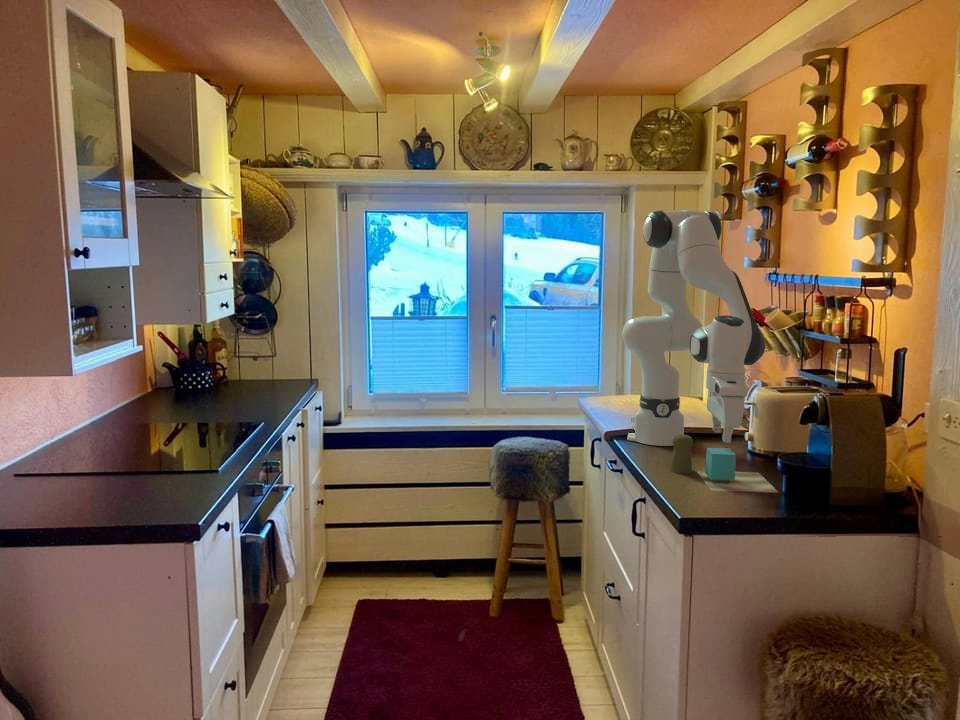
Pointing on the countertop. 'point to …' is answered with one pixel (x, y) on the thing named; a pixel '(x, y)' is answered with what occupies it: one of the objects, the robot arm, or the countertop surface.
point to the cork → (682, 454)
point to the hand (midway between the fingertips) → (721, 436)
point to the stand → (740, 483)
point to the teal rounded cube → (720, 464)
